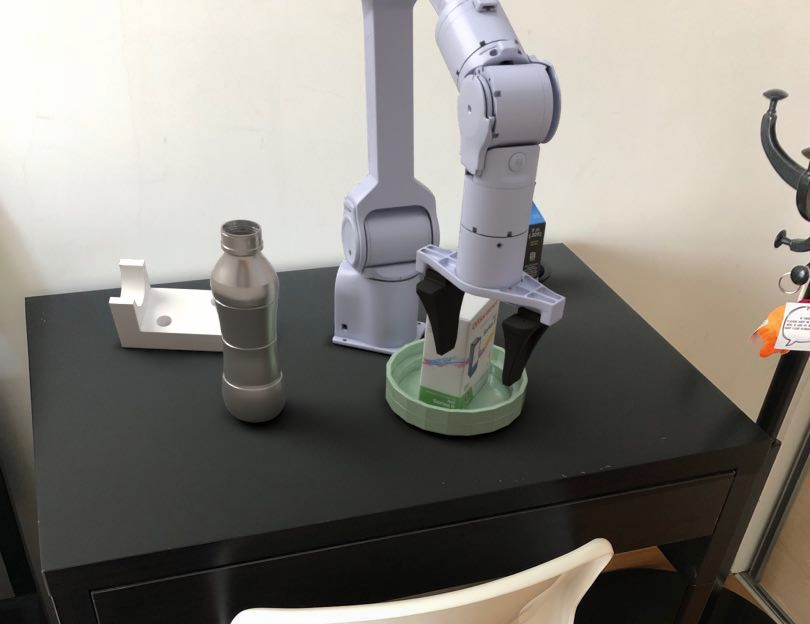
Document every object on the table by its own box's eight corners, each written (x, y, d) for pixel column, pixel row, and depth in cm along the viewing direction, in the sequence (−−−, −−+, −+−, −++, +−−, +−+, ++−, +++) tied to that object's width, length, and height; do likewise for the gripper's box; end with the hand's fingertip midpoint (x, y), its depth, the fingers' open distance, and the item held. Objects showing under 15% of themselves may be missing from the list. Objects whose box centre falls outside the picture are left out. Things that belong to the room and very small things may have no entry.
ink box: (448, 369, 102) (457, 271, 94) (490, 382, 100) (503, 283, 92) (415, 406, 96) (422, 305, 88) (460, 420, 94) (471, 318, 86)
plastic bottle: (261, 438, 91) (247, 250, 78) (210, 415, 94) (188, 229, 80) (300, 409, 96) (293, 225, 82) (250, 388, 98) (235, 206, 85)
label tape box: (481, 296, 116) (492, 201, 108) (465, 282, 119) (475, 189, 111) (538, 284, 120) (553, 191, 111) (521, 271, 122) (535, 180, 114)
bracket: (123, 352, 104) (108, 303, 97) (134, 309, 108) (120, 258, 101) (237, 357, 104) (229, 308, 98) (243, 314, 108) (237, 264, 102)
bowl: (366, 422, 94) (367, 394, 92) (408, 352, 105) (409, 325, 103) (506, 453, 92) (510, 424, 89) (534, 378, 102) (539, 351, 100)
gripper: (594, 235, 74) (566, 378, 83) (454, 186, 80) (442, 323, 90) (547, 262, 70) (524, 409, 79) (403, 208, 76) (397, 349, 85)
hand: (477, 365), depth 84 cm, fingers open, 7 cm apart
